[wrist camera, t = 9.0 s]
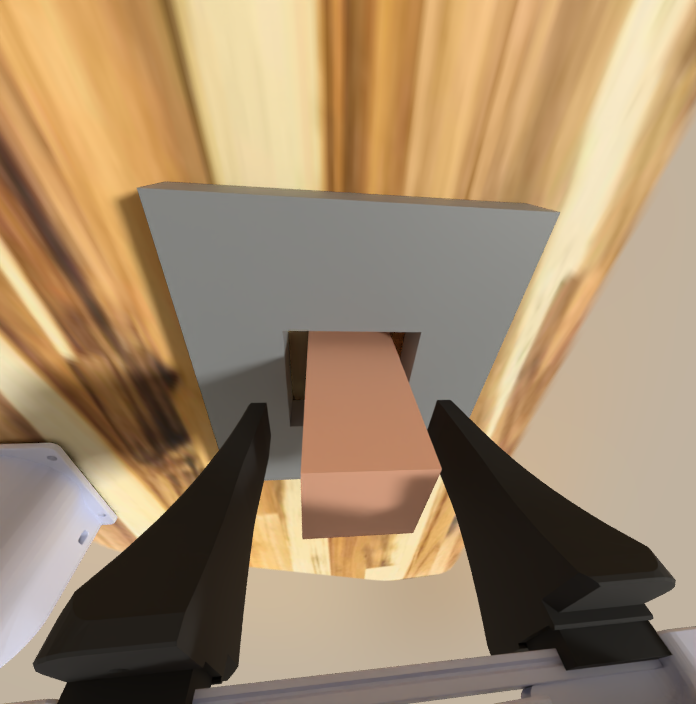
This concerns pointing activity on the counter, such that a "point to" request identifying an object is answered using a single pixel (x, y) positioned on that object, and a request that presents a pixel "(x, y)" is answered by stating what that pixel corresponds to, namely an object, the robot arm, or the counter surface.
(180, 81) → the counter surface
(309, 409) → the terracotta peg
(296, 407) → the socket block
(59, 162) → the counter surface
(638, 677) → the robot arm
